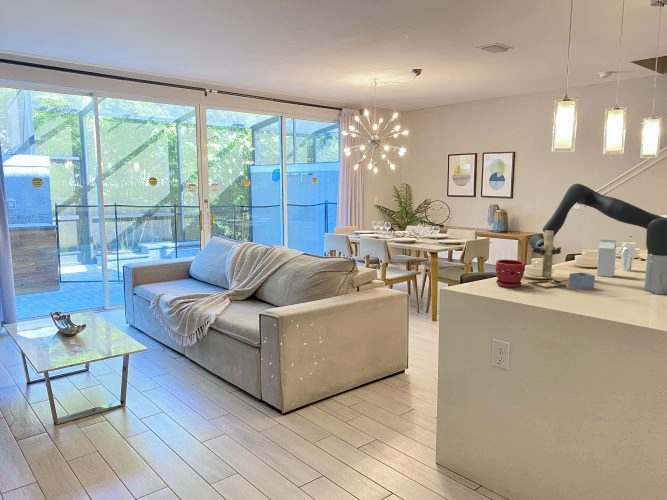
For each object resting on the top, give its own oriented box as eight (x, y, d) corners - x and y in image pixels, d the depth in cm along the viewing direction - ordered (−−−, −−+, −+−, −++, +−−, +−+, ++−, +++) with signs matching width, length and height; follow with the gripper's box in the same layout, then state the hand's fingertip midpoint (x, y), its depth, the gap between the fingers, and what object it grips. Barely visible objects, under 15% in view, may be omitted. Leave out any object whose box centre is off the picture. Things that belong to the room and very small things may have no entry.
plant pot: (492, 287, 235) (493, 262, 234) (497, 282, 247) (498, 258, 245) (521, 289, 229) (523, 264, 228) (525, 284, 241) (526, 260, 239)
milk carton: (612, 277, 257) (614, 241, 254) (596, 275, 261) (599, 240, 258) (614, 275, 262) (616, 239, 260) (599, 273, 267) (601, 238, 264)
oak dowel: (553, 277, 234) (555, 231, 231) (546, 277, 233) (549, 231, 229) (546, 275, 238) (549, 230, 234) (540, 276, 236) (542, 230, 233)
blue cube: (593, 290, 227) (594, 275, 226) (581, 291, 225) (582, 276, 224) (581, 286, 234) (582, 272, 233) (568, 288, 232) (569, 273, 231)
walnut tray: (566, 288, 232) (566, 284, 232) (545, 290, 228) (545, 286, 228) (547, 283, 243) (547, 280, 243) (527, 285, 239) (527, 282, 239)
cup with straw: (637, 270, 276) (640, 234, 273) (631, 272, 270) (634, 236, 267) (621, 268, 282) (623, 233, 279) (615, 270, 276) (617, 234, 273)
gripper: (529, 239, 248) (533, 244, 232) (560, 240, 244) (566, 244, 228) (528, 254, 249) (532, 259, 233) (559, 255, 245) (565, 260, 229)
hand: (549, 252), depth 231 cm, fingers closed on oak dowel, 4 cm apart
